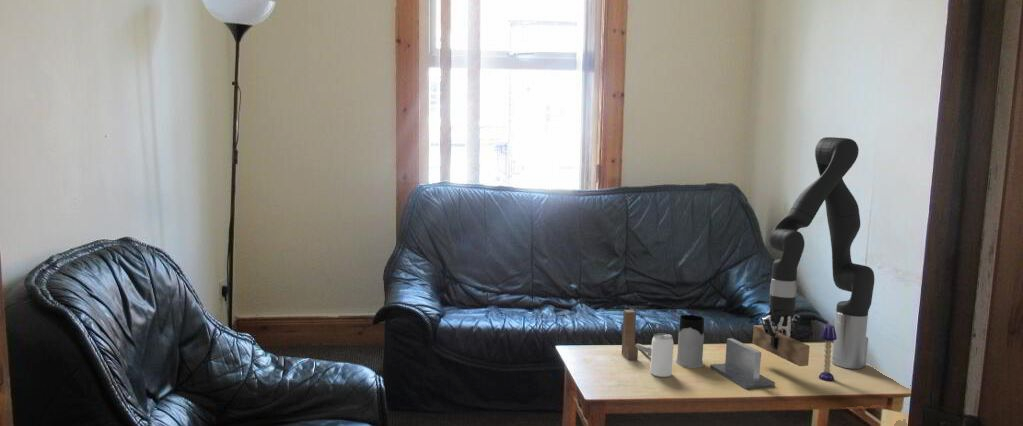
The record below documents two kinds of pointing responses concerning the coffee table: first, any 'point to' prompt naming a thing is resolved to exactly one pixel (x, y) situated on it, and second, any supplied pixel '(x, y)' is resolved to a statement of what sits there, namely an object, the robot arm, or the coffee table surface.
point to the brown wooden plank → (782, 346)
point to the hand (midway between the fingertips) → (779, 347)
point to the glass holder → (690, 341)
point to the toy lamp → (827, 350)
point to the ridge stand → (742, 366)
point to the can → (662, 355)
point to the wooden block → (629, 335)
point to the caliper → (644, 348)
